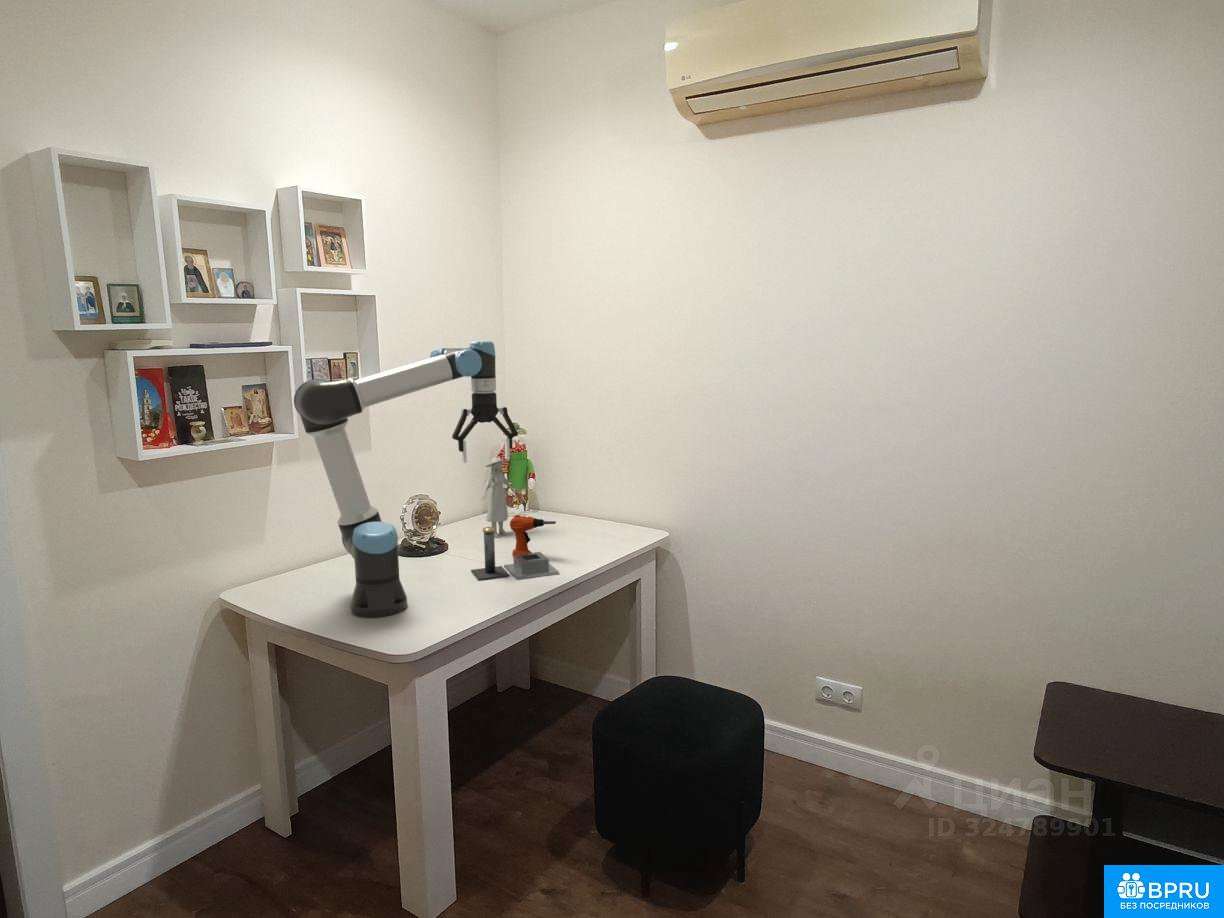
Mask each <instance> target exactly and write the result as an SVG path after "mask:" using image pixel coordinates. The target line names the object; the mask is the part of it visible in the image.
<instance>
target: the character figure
mask: <svg viewBox="0 0 1224 918" xmlns="http://www.w3.org/2000/svg"><path fill="white" fill-rule="evenodd" d="M508 461H509V460H507V459H506V458H505V459H501V457H494V458H492V459H491V460H490V463H489V464H487V465H485V468H490V467H491V468H490V473H489V476H488V478H487V481H486V482H485V484H484V491H483V495H482V497H481V501H484V500H485V498H488V494H487V492H488V490H489V489H490V488H491V492H490V497H489V503H488V507H487V514H486V522H489V523H491V527H494V528H495V532H494V538H500V535H503V536H508V535H509V533H508V532H506V530H505V529H504V522H506V521H507V520H508V518H509V514H508V506H507V505H508V504H507V499H506V493H505V488H504V485H505V486H507V487H508V488H509V489H510V490H511V492H513V493H514V494H515V493H516V491H515V489H514V488H513V486H512V485H511V483H510V482H509V481H510V480H509V479H508V478H507V477H506V476H505V475H504V473H503V469H502V466H503V463H506V462H508ZM492 484H493V485H492ZM497 523H498V525H497ZM497 526H498V531H497Z"/></svg>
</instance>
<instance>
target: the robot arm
mask: <svg viewBox="0 0 1224 918" xmlns="http://www.w3.org/2000/svg"><path fill="white" fill-rule="evenodd" d="M496 357H497V356H496V348H495V343H494V342H492V341H490V340H489V341H479V340H477V341H470V342H469V347H465V348H461V347H460V348H459V347H457V348H454V347H453V348H450V347H449V348H447V347H446V348H444V347H440V348H434V349H432V350H431V352H430V355H429V358H428V359H423V360H421V361H418V362H415V363H411V364H407V365H403V366H400V367H396V368H393V369H389V370H386V371H383V372H380V373H376V374H373V375H369V376H366V377H362V378H359V379H353V378H351V377H350V378H346V379H341V380H336V381H335V380H334V381H328V380H326V379H321V378H314V379H310V380H309V379H308V380H307V381H305V382H303V383H301V384H300V385H299V386H298V387H297V389H296V391H295V392H294V397H293V404H294V409H295V410H296V412H297V413H298V414H299V417H300V420H301V423H302V425H303V427H304V431H305V433H306V435H308V436H311V437H312V438H313V439H314V442H315V444H316V448H317V450H318V453H319V457H320V459H321V463H322V465H323V468H324V470H325V473H326V476H327V479H328V481H329V482H328V483H329V485H330V488H331V491H332V493H333V497H334V499H335V502H336V505H337V507H338V508H337V509H338V510H339V513H340V515H339V518H338V520H337V524H338V528H339V532H340V534H341V541H342V545H343V547H344V549H345V550H346V552H347V553H348V554H350V555H351V557H352V559H353V560H354V571H355V572H354V573H355V586H354V590H353V593H352V597H351V600H350V611H351V614H353V615H355V616H357V617H363V618H380V617H386V616H391V615H395V614H398V613H400V612H402V611H404V610H405V609H406V608H407V607H408V598H407V594H406V592H405V589H404V587H403V585H402V582H401V578H400V567H399V566H400V565H399V562H400V561H399V543H398V542H399V536H398V532H397V529H396V527H395V526H394V525H393V524H391V523H389V522H384V521H382V518H381V515H380V513H379V510H378V508H376V507H374V506H372V505H371V502H370V499H369V497H368V494H367V491H366V488H365V484H364V482H363V478H362V476H361V472H360V470H359V466H358V464H357V460H356V457H355V455H354V451H353V448H352V446H351V443H350V439H349V436H348V433H347V432H346V427H347V425H348V423H349V419H348V418H349V417H353V416H355V415H357V414H359V415H360V414H362V413H363V412H364V410H365V408H368V407H372V406H374V405H377V404H380V403H381V404H382V403H384V402H386V401H389V400H393V399H396V398H400V397H402V396H403V397H404V396H406V395H409V394H413V393H415V392H418V391H421V390H425V389H427V388H432V387H435V386H438V385H441V384H444V383H446V382H447V383H448V382H450V381H454V380H459V379H460V378H464V377H467V378H470V381H471V382H470V384H471V388H470V389H471V392H472V393H471V408H470V409H467V408H464V407H463V408H462V409H461V414H460V415H461V416H460V418H459V420H458V422H457V424H456V427H455V429H454V431H453V433H452V436H451V438H452V439H453V440H455V441H457V442H458V443H457V444H458V445H457V446H458V451H459V452H460V453H461V457H462V463H464V464H465V463H467V462H468V460H467V456H468V455H467V441H466V440H465V439H466V438H467V436H468V435H469V434H470V433H471V431H472V430H473V428H474V427H476V425H477V424H478V423H480V424H483V423H491V422H493V423H494V424H495V425H496V426H497V427H498V428H499V430H501V432H502V433H503V434H504V435H505V436H506V437H504V456H505V457H504V459H505V460H506V459H507V460H508V461H509V460H511V456H510V455H511V453H510V452H511V450H510V449H513V438H514V437H515V438H516V437H517V436H518V435H519V433H518V431H517V428H516V426H515V425H514V423H513V421H512V419H511V418H510V416H509V413H508V407H507V406H502V407H498V404H497V402H498V401H497V393H496V391H497V379H496V377H497V376H496ZM498 413H499V414H500V415H502V417H503V419H504V421H505V423H506V424H507V426H508V428H509V430H510V431H509V430H508V429H507V428H506V427H505V426H504V424H503V423H502V422H501V421H500V419H499V418H498V417H497V415H498ZM470 414H471V415H472V416H473V417H472V418H471V420H470V422H469V423H468V424H467V425H466V427H464V425H465V422H466V420H467V418H468V416H469V415H470ZM463 427H464V430H463V431H462V429H463Z"/></svg>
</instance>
